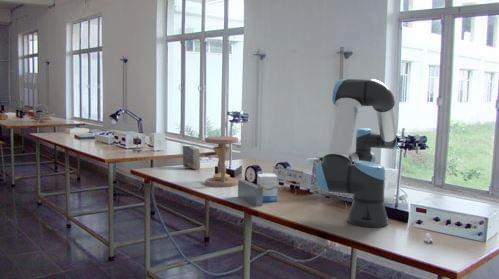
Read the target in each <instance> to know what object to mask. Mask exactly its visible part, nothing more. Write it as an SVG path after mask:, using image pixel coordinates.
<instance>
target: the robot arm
mask: <svg viewBox="0 0 499 279" xmlns="http://www.w3.org/2000/svg"><path fill="white" fill-rule="evenodd" d="M331 95H332V96H331V97H332V98H331V99H332V103H333V105H334V107H335V109H336V110H337V111H336V114H335V119H334V123H333V128H332V132H331V133H332V134H331V137H330V138H331V139H330V141H329V142H330V143H329V147H328V152H327V153H326V154H324V156H322V157H321V156H320V157H315V158H306V159H305V160H306V163H305V164H306V166H307V165H311V166H312V165H314V164H313V163H314V160H321V161H322V162H321V161H320V162H317V164H315V182H316V185H317V188H318V189H319V191H323V192H328V193H340V194H350V195H352V204H351V206H350V209H349V212H348V214H347V221H348V223H350V224H352V225H355V226H360V227H365V228H380V227H386V226H387V225H389V217H388V213H387V210H386V206H385V189H386V186H385V184H386V169H385V166H383V165H382V164H379V163H376V157H375V153H374V152H373V151H372V149H385V150H386V149H388V150H389V149H390V150H400V149H399V148H398V147H397V145H398V143H397V142H396V138H399V137H401V136H402V134H400V133H397V127H396V121H395V120H396V119H395V112H394V107H395V105H396V104H395V103H396V102H395V97H394V95H393V92H392V91H391V89H390V88H389V87H388V86H387V85H386V84H385V83H383V82H382V81H379V80H377V79H374V78H372V79H371V78H369V79H368V78H366V79H365V78H364V79H363V78H362V79H361V78H359V79H358V78H355V79H354V78H345V79H342V78H341V79H338V80H337V81H336V83H335V84H334V86H333V89H332V94H331ZM363 107H372V108H373V109H374V111H375V113H376V114H375V115H376V119H377V120H376V121H377V124H378V130H379V132H373V129H371V128H365V127H364V128H362V127H361V128H358V129H356V136H355V151H351V148H352V144H353V138H354V132H355V127H356V121H357V116H358V114H359V113H360V112H361V111H362V109H363ZM351 160H354V161H355V163H354V164H352V162H351Z"/></svg>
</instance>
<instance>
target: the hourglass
mask: <svg viewBox="0 0 499 279" xmlns="http://www.w3.org/2000/svg"><path fill="white" fill-rule="evenodd" d="M204 140H205V143H209V144H214V145H215V144H217V146H214V147H212V149H213V151H214V153H215V154H216V156H217V157H218V161H217V173H216V174H214V175H213V177H208V178H206V179H205V180H204V184H205V185H206V186H208V187H214V188H229V187H236V186H238V180H239V179H237V178H235V177H231V175H230V174H228V173H227V167H226V161H227V160H226V159H227V156H228V154H229V152H230V150H231V147H229V146H226V145H228V144H236V143H238V142H239V138H238V137H237V136H223V135H222V136H220V135H218V136H217V135H216V136H207V137H205V139H204Z"/></svg>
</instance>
